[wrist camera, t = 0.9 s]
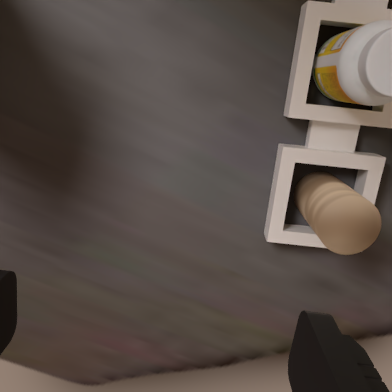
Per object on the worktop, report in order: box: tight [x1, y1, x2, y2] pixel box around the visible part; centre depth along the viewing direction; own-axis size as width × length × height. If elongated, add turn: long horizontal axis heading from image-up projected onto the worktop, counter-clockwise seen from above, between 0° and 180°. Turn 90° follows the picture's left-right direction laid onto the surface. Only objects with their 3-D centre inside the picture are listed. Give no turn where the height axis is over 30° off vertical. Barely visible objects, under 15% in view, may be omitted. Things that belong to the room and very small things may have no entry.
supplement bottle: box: [313, 20, 392, 106], centre depth 26 cm, size 5×5×10 cm
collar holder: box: [264, 0, 392, 252], centre depth 30 cm, size 31×9×2 cm, turn 174°
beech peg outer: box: [293, 171, 381, 255], centre depth 30 cm, size 4×4×8 cm
